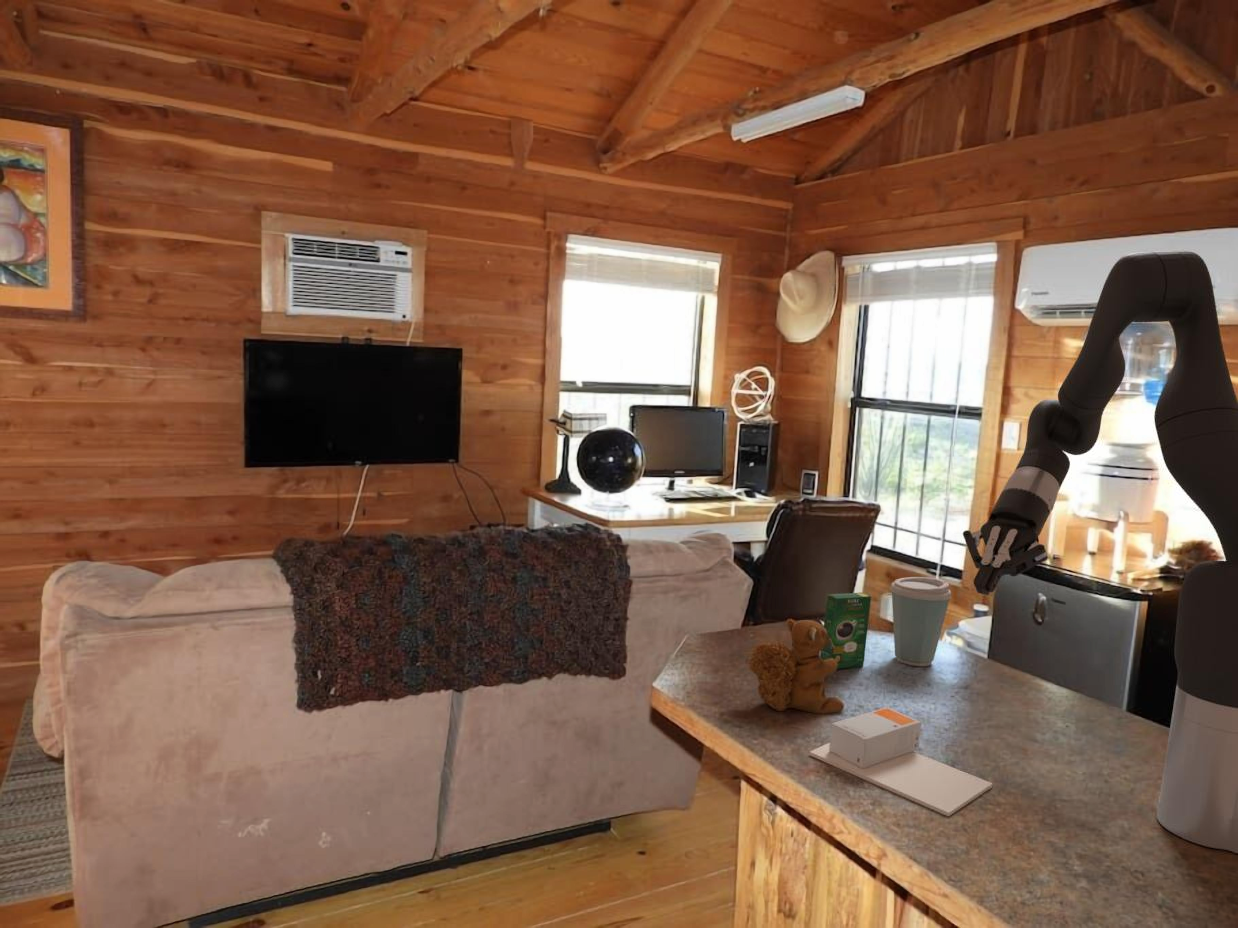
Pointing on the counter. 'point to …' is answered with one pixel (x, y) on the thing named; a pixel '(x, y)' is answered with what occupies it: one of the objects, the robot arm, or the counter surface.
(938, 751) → the counter surface
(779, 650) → the stuffed squirrel
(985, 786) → the flat beige rectangular board
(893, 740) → the skincare box
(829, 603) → the coffee box
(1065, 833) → the counter surface
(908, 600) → the disposable coffee cup
